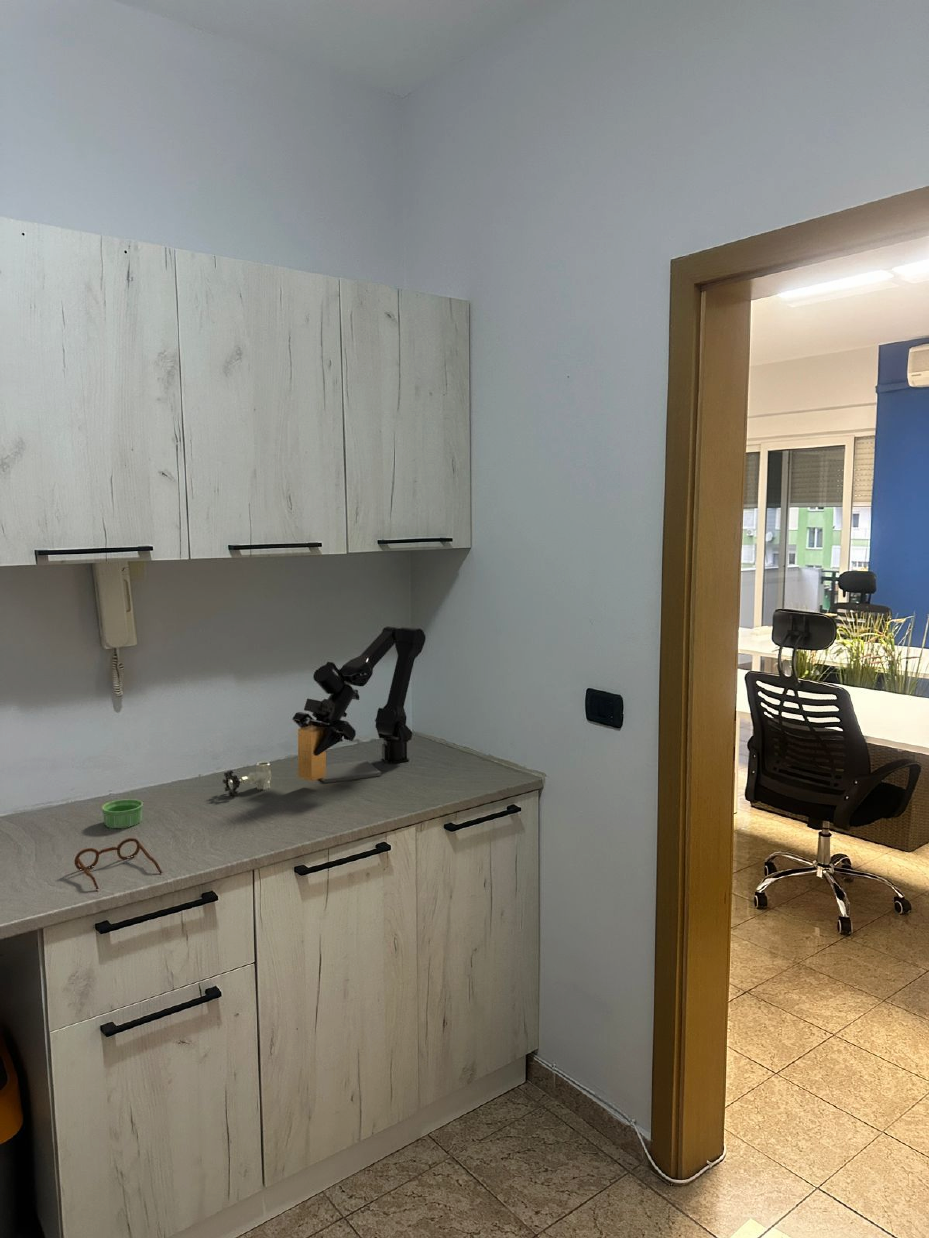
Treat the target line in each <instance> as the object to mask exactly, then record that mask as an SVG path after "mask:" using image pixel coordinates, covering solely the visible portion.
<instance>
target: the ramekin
mask: <svg viewBox="0 0 929 1238" xmlns="http://www.w3.org/2000/svg"><path fill="white" fill-rule="evenodd" d="M143 807H144V802H143V801H141V800H139V799H135V798H127V799H126V798H125V799H123V798H122V799H117V800H113V801H109V802H107V803H105V804H103V805H102V806H101V810H102V816H103V821H104V822H103V823H104V826H105V825H106V826H107V827H106V826H105V827H106V828H108V827H110V828H109V829H113V828H122V829H126V828H125V827H129V826H132V827H134V826H133V825H135V826H137V825H139V824H140V823H141V822H142V815H143ZM140 821H141V822H140ZM139 822H140V823H139ZM138 823H139V824H138ZM136 824H137V825H136ZM129 828H130V827H129Z"/></svg>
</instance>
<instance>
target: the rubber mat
mask: <svg viewBox="0 0 929 1238" xmlns="http://www.w3.org/2000/svg"><path fill="white" fill-rule="evenodd" d="M374 777H382V771H380V770H378V768H377V767H376V766H374V765H373V764H371V763H370V762H369V761H367V759H364V760H356V761H348V762H340V763H339V762H338V763H332V764H326V777H323V778H320V780H321V781H322V782H323V784H328V783H336V782H344V781H352V780H359V779H366V778H374Z"/></svg>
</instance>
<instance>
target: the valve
mask: <svg viewBox="0 0 929 1238" xmlns="http://www.w3.org/2000/svg"><path fill="white" fill-rule="evenodd" d="M255 766H256V770H255V772H253V771H252V772H249V773H248V775H247V776H242V777H240V778H239V777H238V776H237V775H233V774H234V770H228V771H225V772H224V774H223V775H224V776H223V777H225V778H223V779H222V783H223V784H224V785H225V787H224V792H228V793H227V794H228V796H229V797H232V796H236V795H238V793H239V792H238V788H240V785H246V784H250V785H255V784H256V789H257V790H260V789H263V790H262V791H266V790H268V788H269V789H271V782H270V781H271V780H272V772H271V769H270V762H269V761H260V762H257V763H256V765H255Z"/></svg>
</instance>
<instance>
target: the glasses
mask: <svg viewBox="0 0 929 1238" xmlns="http://www.w3.org/2000/svg"><path fill="white" fill-rule="evenodd" d="M129 842H134V843H135V844H136V849H135V851H134V852H133V853H131V855H128V856H125V855H124V856H123V855H122V854H121V849H122V846H124V845H125V844H126V843H129ZM140 850H141V852H142V853H143V855H145V857H146V858H147V859H148V860H149V861H151V862H152V863H153V864H154V866H155V867H156V869H157V871H158V873H159V872H160V873H163V874H164V872H163V871H162V869H161V867H160V865H159V864H158V861H157V860H156V859H155V858H154V857H152V856H151V855H150V854H149V852H148V851H147V850H146V849H145V848H144V847H143V845H142V844H141V843H140V841H139V840H138V839H137V838H136V837H135V838H133V837H130V838H126V839H124V840H122V841H121V842H120V843H119V844H118V845H117V846H112V847H106V848H103V849H101V850H99V851H98V850H97V849H96V848H93V847H89V848H84V849H82V850H80V851H79V852H78V853H77V854H76V855H75V858H74V866H75V868H76V869H77V870H79V871H81V870H80V869H83V870H82V871H83V872H84V873H85V875H86V876H87V877H89V878H90V879H91V880H92V883H93V885H94V887H96V888H95V890H96V889H99V886H98V884H97V883H98V882H97V881H96V878H95V876H94V875H93V874H92V873H91V872H89V870H88V869H86V868H89V867H92V866H94V867H95V866H96V865H97V864H98V861H99V858H100V855H102V854H104V853H107V852H111V851H116V853H117V857H118V858H119V859H120V860H122V859H125V858H127V857H131V856H134V855H136V856H137V855H138V854H139V852H140ZM88 852H92V853H94V854H95V859H94V861H93V862H92V863H91V864H90V865H87V866H85V865H84V864H83V862H82V861H81V859H80V857H81V855H84V854H85V853H88ZM125 860H126V859H125ZM89 869H90V868H89ZM160 873H159V874H160ZM99 890H100V889H99Z"/></svg>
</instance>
